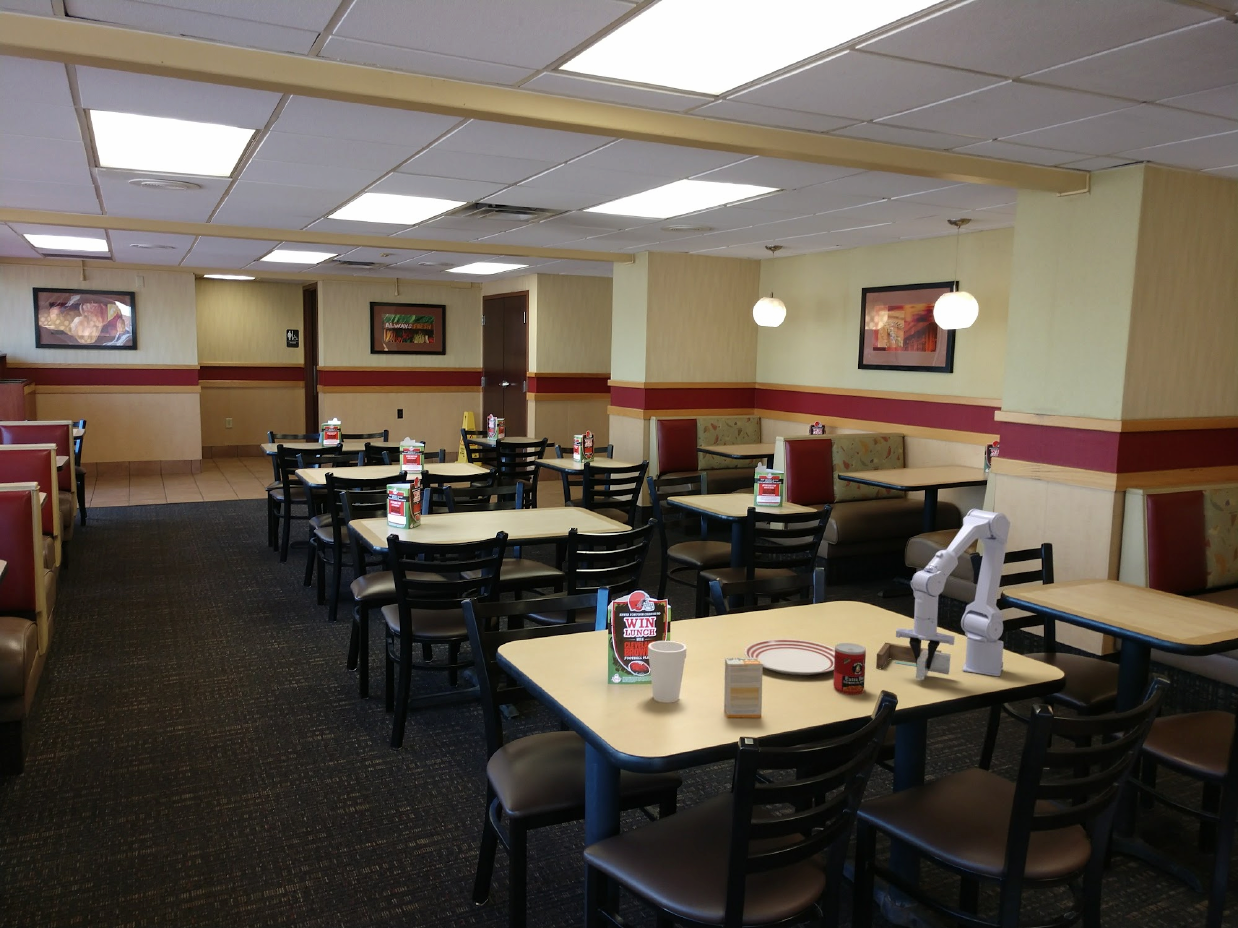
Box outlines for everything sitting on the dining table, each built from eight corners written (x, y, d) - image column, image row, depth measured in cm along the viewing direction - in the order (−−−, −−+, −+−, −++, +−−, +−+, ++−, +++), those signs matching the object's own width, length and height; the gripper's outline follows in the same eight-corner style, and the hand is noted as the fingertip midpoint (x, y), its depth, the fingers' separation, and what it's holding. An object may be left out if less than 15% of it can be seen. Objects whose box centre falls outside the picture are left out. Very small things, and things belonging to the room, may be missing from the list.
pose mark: (930, 666, 247) (930, 666, 247) (927, 673, 241) (927, 673, 241) (895, 661, 251) (895, 660, 251) (891, 667, 245) (891, 667, 245)
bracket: (921, 667, 241) (923, 649, 240) (949, 672, 237) (950, 654, 237) (915, 678, 232) (917, 659, 231) (944, 683, 228) (945, 664, 228)
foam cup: (693, 698, 219) (694, 646, 218) (667, 707, 213) (668, 654, 211) (664, 688, 226) (665, 638, 225) (639, 697, 219) (640, 645, 218)
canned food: (843, 695, 223) (844, 652, 222) (827, 685, 231) (829, 643, 230) (870, 693, 225) (872, 650, 224) (853, 682, 233) (855, 641, 232)
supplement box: (757, 710, 212) (759, 656, 211) (761, 718, 207) (763, 663, 206) (723, 710, 212) (724, 656, 210) (726, 718, 207) (727, 663, 206)
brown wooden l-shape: (940, 664, 249) (941, 650, 249) (934, 677, 238) (935, 662, 238) (884, 656, 256) (885, 642, 256) (876, 667, 245) (876, 653, 245)
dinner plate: (856, 682, 234) (857, 670, 234) (752, 680, 234) (752, 668, 233) (831, 650, 261) (831, 639, 261) (737, 649, 261) (738, 638, 261)
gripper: (894, 616, 234) (892, 666, 236) (953, 624, 228) (950, 675, 229) (899, 610, 241) (897, 659, 242) (956, 617, 234) (954, 667, 235)
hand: (923, 666), depth 236 cm, fingers closed on bracket
